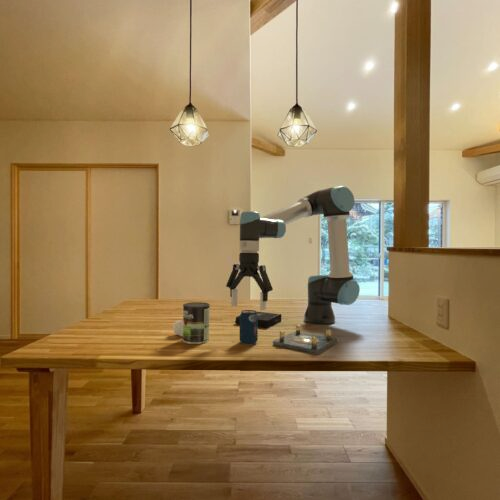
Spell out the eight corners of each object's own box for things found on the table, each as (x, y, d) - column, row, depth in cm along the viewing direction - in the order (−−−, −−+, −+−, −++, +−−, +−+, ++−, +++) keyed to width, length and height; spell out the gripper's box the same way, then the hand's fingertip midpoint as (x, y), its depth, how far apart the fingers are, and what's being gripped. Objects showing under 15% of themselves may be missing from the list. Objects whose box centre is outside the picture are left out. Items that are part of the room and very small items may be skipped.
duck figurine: (202, 339, 133) (204, 315, 140) (200, 332, 127) (202, 307, 134) (173, 339, 132) (177, 315, 139) (170, 332, 126) (174, 306, 133)
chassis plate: (295, 334, 133) (295, 322, 133) (337, 342, 122) (337, 329, 122) (272, 345, 118) (272, 331, 118) (317, 354, 108) (317, 340, 108)
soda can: (259, 344, 119) (259, 312, 119) (241, 345, 117) (241, 313, 117) (255, 339, 125) (255, 309, 125) (238, 340, 124) (238, 309, 124)
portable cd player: (250, 318, 166) (251, 310, 166) (281, 322, 158) (281, 314, 158) (235, 325, 152) (235, 316, 152) (267, 329, 144) (267, 320, 144)
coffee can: (192, 346, 117) (193, 307, 117) (177, 340, 124) (177, 304, 124) (214, 340, 124) (215, 304, 124) (199, 335, 131) (199, 301, 131)
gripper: (218, 251, 126) (217, 305, 126) (271, 252, 111) (270, 313, 111) (230, 251, 132) (229, 303, 132) (282, 252, 117) (281, 310, 117)
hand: (248, 307), depth 121 cm, fingers open, 13 cm apart
